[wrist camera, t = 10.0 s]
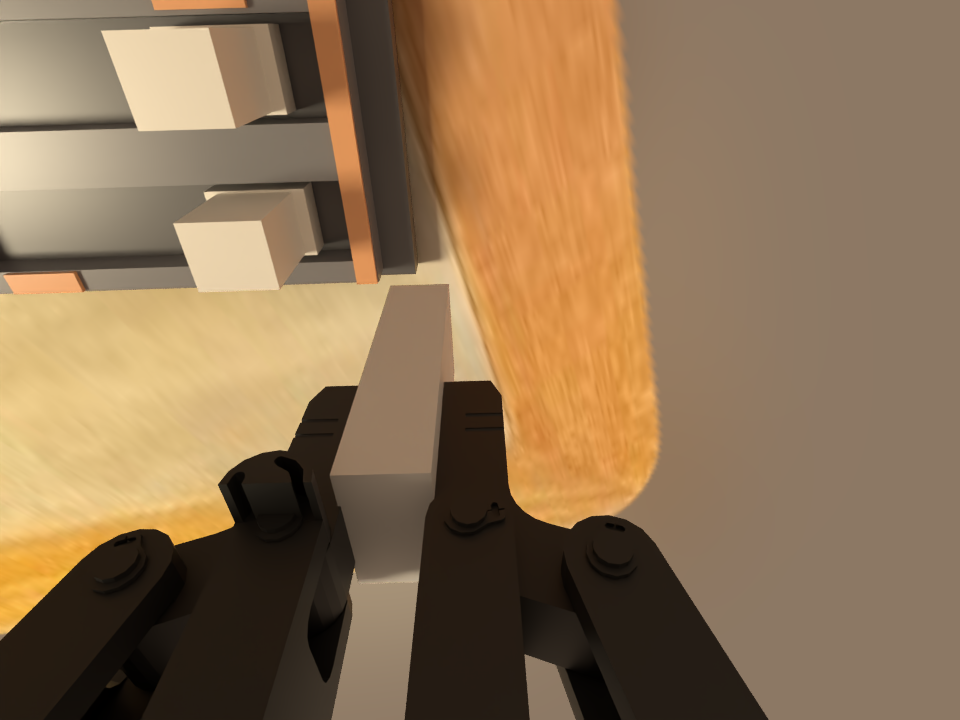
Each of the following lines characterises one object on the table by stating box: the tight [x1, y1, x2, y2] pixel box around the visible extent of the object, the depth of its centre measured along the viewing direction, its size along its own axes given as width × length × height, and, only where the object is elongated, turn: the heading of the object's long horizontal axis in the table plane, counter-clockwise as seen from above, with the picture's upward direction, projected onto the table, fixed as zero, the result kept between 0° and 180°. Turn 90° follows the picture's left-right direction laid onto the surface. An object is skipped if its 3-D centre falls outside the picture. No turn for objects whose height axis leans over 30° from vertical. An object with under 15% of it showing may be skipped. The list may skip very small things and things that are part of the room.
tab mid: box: [101, 24, 296, 131], centre depth 17 cm, size 4×3×5 cm
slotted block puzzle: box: [0, 0, 418, 294], centre depth 19 cm, size 22×17×3 cm
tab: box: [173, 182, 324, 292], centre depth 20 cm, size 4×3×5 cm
